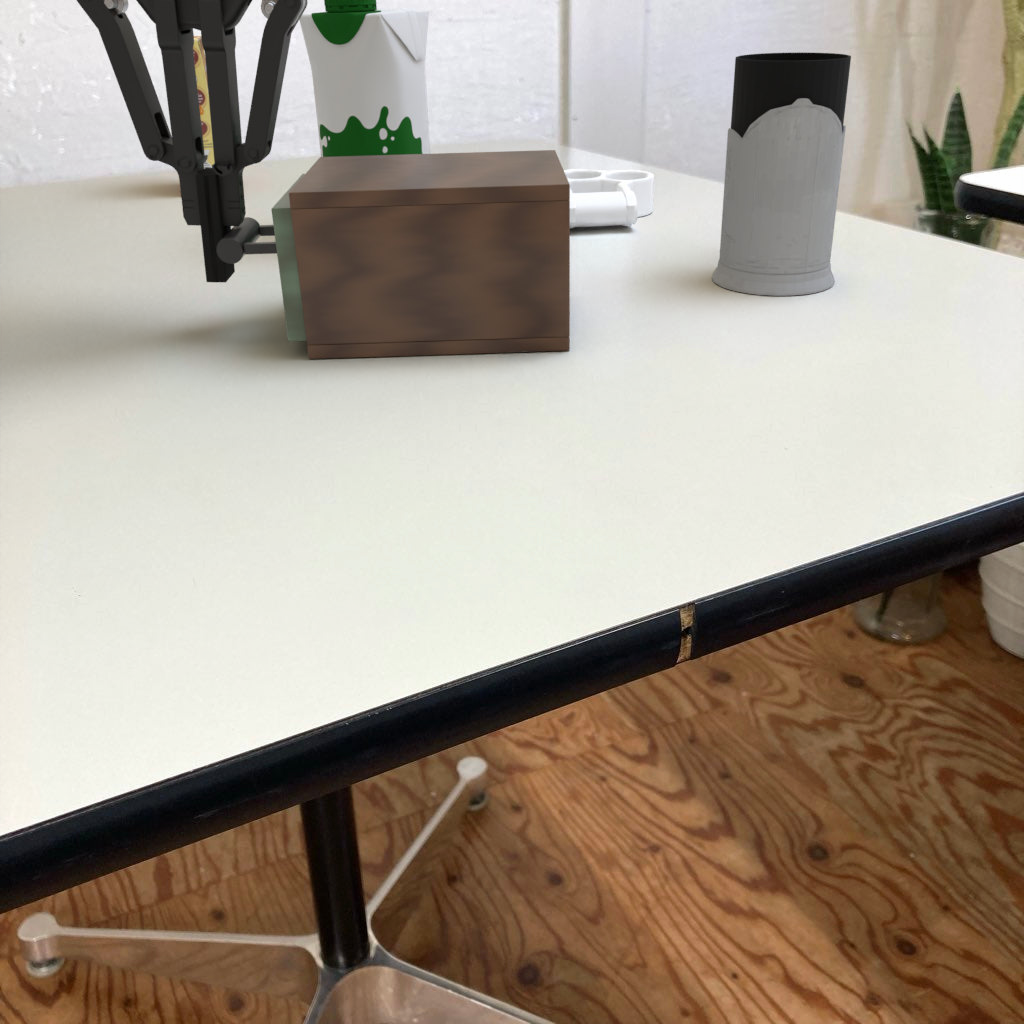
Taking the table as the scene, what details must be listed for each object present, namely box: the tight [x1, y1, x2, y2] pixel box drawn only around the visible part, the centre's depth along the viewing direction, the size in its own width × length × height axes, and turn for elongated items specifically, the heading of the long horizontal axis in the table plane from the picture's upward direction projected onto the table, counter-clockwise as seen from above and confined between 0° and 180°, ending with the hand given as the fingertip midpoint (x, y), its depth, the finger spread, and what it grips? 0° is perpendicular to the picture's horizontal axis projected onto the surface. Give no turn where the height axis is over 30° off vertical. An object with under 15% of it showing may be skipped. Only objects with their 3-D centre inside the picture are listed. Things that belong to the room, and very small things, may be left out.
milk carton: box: [299, 0, 431, 157], centre depth 87 cm, size 9×9×20 cm
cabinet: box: [289, 149, 571, 360], centre depth 66 cm, size 16×13×10 cm
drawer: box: [217, 173, 306, 342], centre depth 66 cm, size 19×12×8 cm, turn 92°
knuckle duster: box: [563, 168, 655, 230], centre depth 96 cm, size 3×18×15 cm
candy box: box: [160, 35, 215, 169], centre depth 112 cm, size 9×4×15 cm, turn 14°
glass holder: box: [711, 52, 852, 297], centre depth 75 cm, size 9×14×15 cm, turn 0°
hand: (221, 276), depth 67 cm, fingers closed
